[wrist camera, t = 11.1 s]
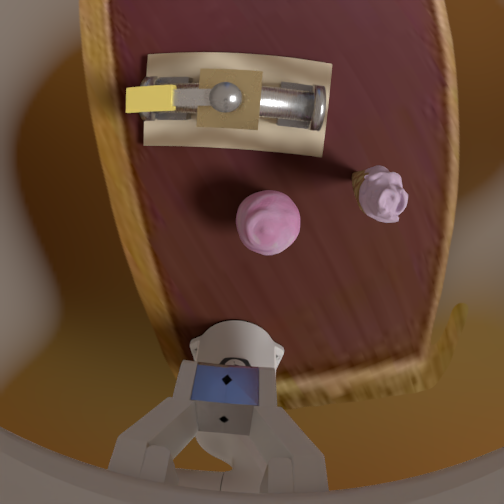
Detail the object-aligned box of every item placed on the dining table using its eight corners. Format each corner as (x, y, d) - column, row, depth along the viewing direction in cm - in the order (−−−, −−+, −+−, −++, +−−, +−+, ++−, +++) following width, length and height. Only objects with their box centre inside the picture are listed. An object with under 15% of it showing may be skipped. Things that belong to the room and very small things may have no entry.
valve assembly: (319, 155, 44) (339, 172, 33) (146, 144, 44) (114, 158, 33) (329, 65, 38) (353, 52, 27) (151, 55, 37) (118, 42, 27)
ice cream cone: (328, 164, 45) (358, 190, 31) (363, 146, 43) (406, 165, 30) (347, 201, 47) (380, 240, 34) (380, 183, 46) (424, 216, 32)
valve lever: (243, 83, 29) (242, 82, 27) (241, 112, 31) (240, 113, 29) (133, 86, 29) (126, 86, 27) (132, 114, 30) (125, 114, 29)
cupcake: (234, 184, 46) (228, 204, 38) (292, 176, 46) (300, 194, 37) (243, 237, 50) (240, 268, 41) (297, 230, 50) (306, 260, 41)
